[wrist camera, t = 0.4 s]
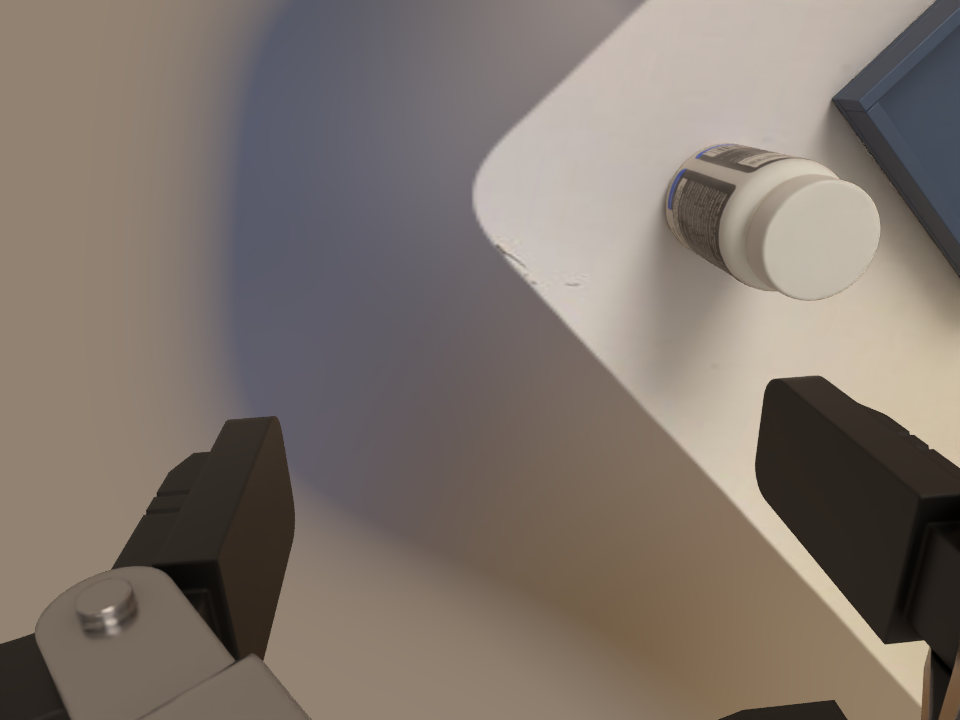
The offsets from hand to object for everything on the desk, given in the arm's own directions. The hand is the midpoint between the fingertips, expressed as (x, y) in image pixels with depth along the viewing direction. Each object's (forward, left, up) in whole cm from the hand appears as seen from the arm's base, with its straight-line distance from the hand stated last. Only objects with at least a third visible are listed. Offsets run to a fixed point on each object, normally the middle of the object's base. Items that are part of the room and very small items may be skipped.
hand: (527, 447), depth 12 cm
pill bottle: (0, +11, -20) cm, 23 cm away
